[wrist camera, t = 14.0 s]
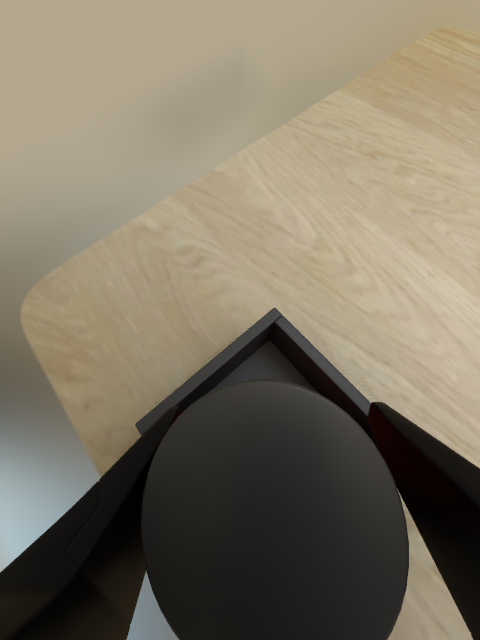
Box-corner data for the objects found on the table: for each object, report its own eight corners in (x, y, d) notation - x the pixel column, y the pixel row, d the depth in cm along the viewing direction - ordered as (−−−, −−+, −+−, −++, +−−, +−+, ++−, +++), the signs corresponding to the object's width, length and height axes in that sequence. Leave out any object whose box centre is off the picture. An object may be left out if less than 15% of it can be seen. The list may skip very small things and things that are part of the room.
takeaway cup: (333, 406, 15) (450, 463, 5) (290, 506, 14) (342, 797, 4) (245, 360, 17) (216, 339, 7) (200, 447, 15) (91, 566, 6)
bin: (369, 436, 16) (422, 453, 11) (260, 555, 14) (264, 640, 9) (269, 330, 19) (274, 306, 14) (168, 416, 17) (134, 424, 12)
